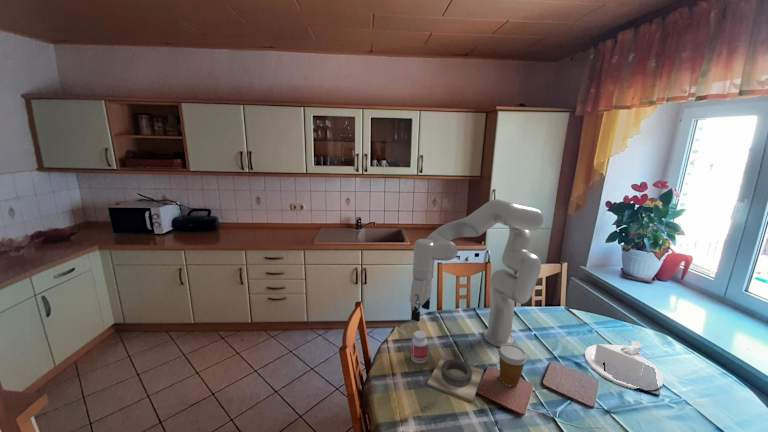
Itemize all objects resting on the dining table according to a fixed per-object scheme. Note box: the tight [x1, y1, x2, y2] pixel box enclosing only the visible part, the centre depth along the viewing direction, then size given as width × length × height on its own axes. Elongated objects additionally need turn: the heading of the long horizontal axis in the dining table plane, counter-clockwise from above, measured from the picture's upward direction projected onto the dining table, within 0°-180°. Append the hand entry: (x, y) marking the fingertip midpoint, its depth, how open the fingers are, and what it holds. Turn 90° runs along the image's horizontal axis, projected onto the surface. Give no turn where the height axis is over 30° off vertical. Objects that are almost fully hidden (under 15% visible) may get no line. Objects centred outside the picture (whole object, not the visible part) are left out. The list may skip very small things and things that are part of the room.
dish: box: [584, 340, 665, 390], centre depth 124 cm, size 25×25×11 cm
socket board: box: [427, 356, 484, 403], centre depth 117 cm, size 16×16×4 cm
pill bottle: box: [410, 330, 428, 364], centre depth 126 cm, size 6×6×11 cm
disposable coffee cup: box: [497, 344, 528, 387], centre depth 116 cm, size 10×10×12 cm
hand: (420, 314), depth 123 cm, fingers open, 9 cm apart
